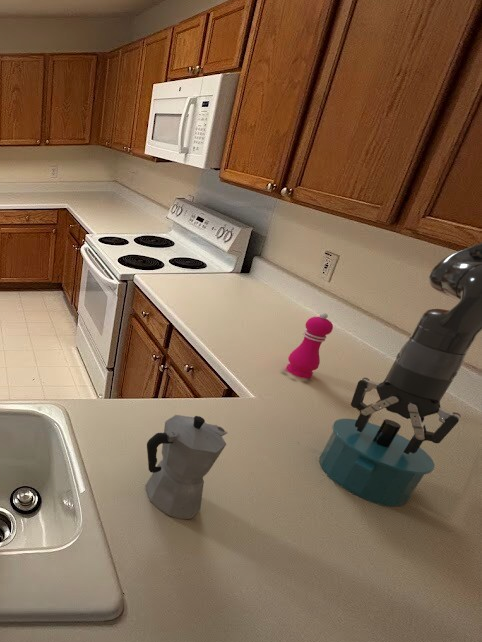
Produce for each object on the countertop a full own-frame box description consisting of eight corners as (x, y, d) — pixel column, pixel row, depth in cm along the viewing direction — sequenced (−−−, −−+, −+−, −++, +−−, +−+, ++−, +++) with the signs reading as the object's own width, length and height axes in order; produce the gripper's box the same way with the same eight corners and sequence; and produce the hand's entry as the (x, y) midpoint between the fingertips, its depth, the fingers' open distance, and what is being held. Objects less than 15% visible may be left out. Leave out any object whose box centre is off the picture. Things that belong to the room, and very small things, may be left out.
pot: (417, 482, 84) (438, 450, 80) (392, 525, 73) (415, 489, 70) (335, 441, 94) (351, 411, 90) (304, 473, 83) (320, 440, 80)
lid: (438, 458, 79) (455, 433, 77) (421, 489, 71) (439, 462, 69) (344, 415, 90) (356, 392, 88) (320, 437, 82) (332, 413, 80)
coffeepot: (183, 473, 80) (210, 397, 74) (221, 514, 72) (255, 432, 65) (114, 484, 76) (137, 405, 70) (146, 529, 68) (174, 444, 61)
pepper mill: (318, 378, 120) (347, 317, 113) (302, 382, 118) (331, 319, 110) (293, 366, 127) (318, 306, 119) (277, 369, 124) (303, 308, 116)
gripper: (487, 381, 70) (438, 457, 76) (378, 344, 81) (343, 414, 87) (481, 393, 66) (429, 472, 72) (367, 353, 77) (331, 425, 83)
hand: (382, 440), depth 80 cm, fingers open, 6 cm apart
